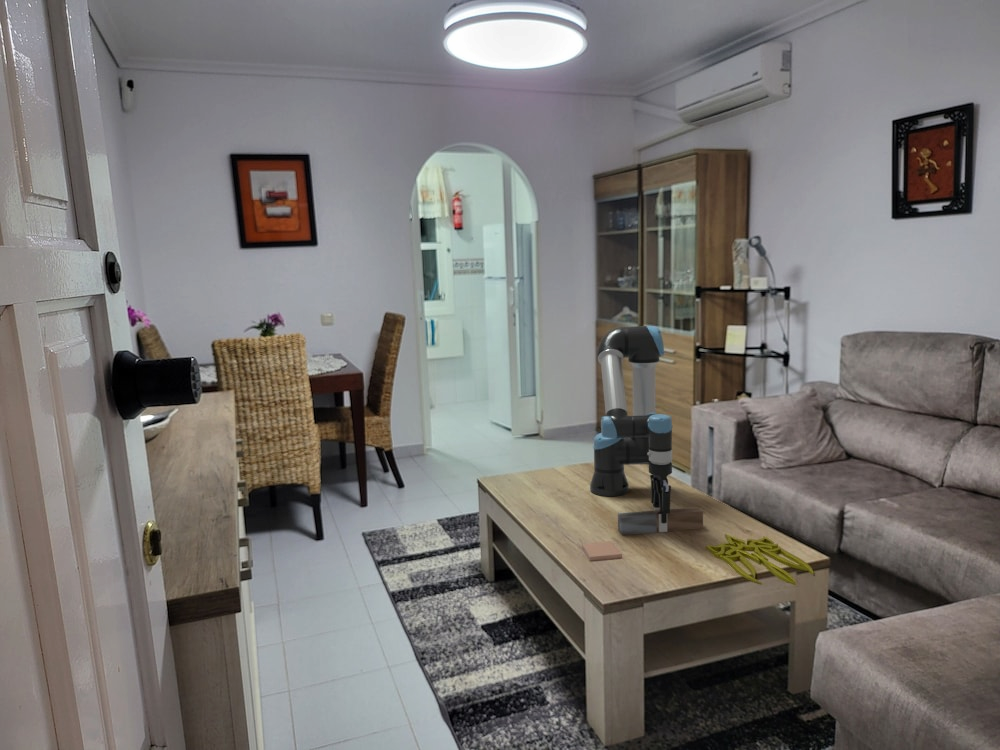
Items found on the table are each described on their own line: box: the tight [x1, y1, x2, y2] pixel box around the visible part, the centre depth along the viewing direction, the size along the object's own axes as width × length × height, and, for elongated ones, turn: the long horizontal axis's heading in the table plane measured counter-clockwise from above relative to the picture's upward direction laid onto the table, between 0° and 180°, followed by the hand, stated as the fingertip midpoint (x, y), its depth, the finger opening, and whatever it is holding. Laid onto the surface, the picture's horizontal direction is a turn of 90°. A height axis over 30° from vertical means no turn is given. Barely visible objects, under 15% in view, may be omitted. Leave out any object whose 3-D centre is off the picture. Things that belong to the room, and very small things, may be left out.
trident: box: [705, 533, 815, 586], centre depth 201 cm, size 22×2×35 cm
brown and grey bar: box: [617, 506, 704, 536], centre depth 226 cm, size 4×28×6 cm, turn 96°
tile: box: [581, 540, 623, 562], centre depth 211 cm, size 10×2×10 cm
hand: (660, 528), depth 227 cm, fingers closed on brown and grey bar, 4 cm apart
